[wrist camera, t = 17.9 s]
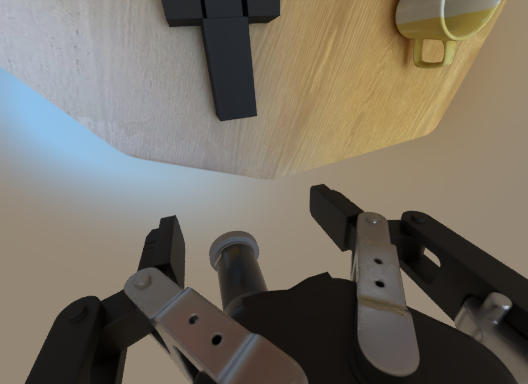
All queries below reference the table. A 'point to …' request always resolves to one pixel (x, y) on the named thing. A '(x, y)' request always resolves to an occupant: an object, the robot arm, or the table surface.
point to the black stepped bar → (228, 58)
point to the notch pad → (190, 14)
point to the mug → (442, 23)
